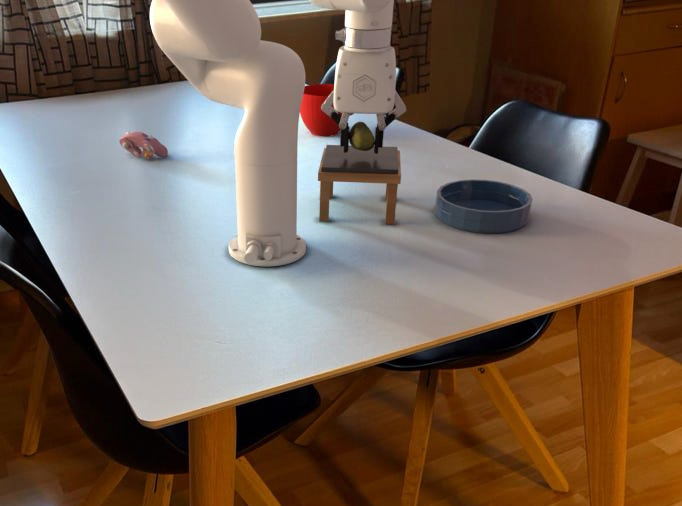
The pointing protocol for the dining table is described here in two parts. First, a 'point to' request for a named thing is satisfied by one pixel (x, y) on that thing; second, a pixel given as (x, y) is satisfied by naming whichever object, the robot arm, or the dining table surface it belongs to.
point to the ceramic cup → (318, 110)
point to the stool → (359, 174)
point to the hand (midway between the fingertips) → (361, 149)
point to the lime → (361, 137)
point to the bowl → (483, 206)
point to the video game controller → (143, 145)
